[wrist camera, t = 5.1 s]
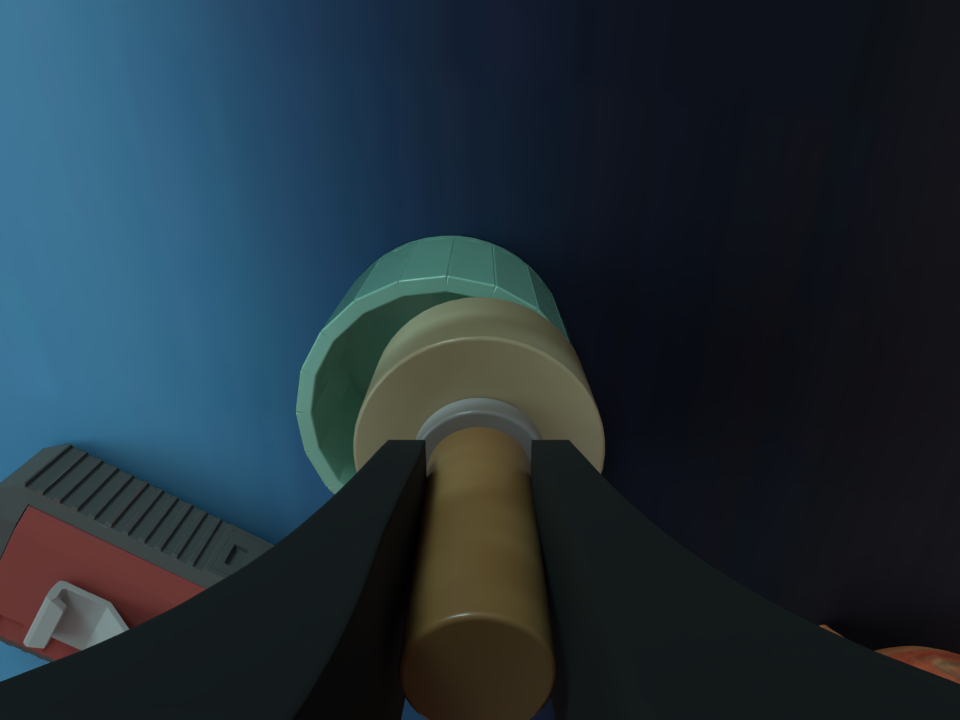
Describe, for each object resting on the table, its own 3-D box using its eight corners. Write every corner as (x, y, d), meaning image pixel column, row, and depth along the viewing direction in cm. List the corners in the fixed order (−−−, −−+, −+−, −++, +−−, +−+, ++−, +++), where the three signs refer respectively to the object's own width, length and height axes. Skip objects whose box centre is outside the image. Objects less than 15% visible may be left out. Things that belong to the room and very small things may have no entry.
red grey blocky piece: (-55, 589, 25) (411, 792, 29) (-163, 688, 21) (400, 909, 24) (22, 408, 22) (526, 660, 26) (-83, 480, 18) (535, 766, 22)
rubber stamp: (591, 296, 14) (708, 503, 7) (579, 489, 15) (662, 819, 8) (366, 296, 14) (245, 503, 7) (379, 489, 15) (292, 818, 8)
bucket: (590, 262, 20) (623, 311, 15) (535, 465, 23) (548, 560, 18) (353, 212, 20) (314, 248, 15) (324, 427, 22) (283, 514, 18)
